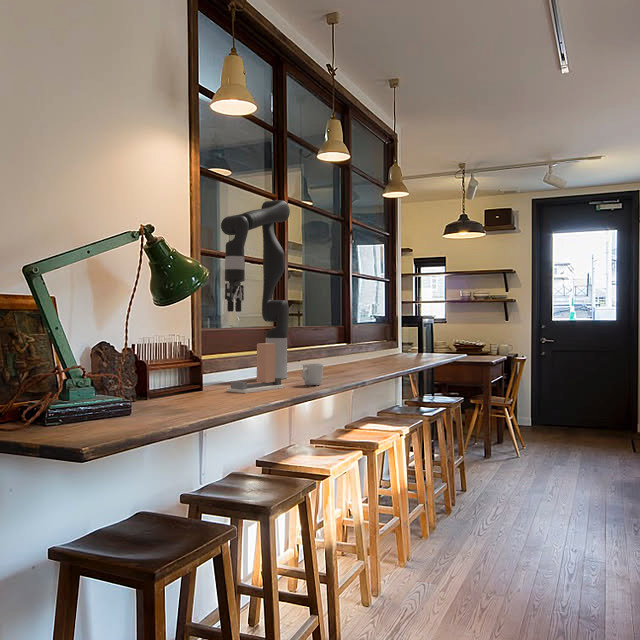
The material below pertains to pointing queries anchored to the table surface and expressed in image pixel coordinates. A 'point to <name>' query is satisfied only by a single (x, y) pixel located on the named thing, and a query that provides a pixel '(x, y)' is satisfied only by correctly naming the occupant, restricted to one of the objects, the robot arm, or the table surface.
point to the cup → (312, 374)
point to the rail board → (254, 386)
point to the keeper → (266, 362)
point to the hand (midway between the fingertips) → (234, 311)
